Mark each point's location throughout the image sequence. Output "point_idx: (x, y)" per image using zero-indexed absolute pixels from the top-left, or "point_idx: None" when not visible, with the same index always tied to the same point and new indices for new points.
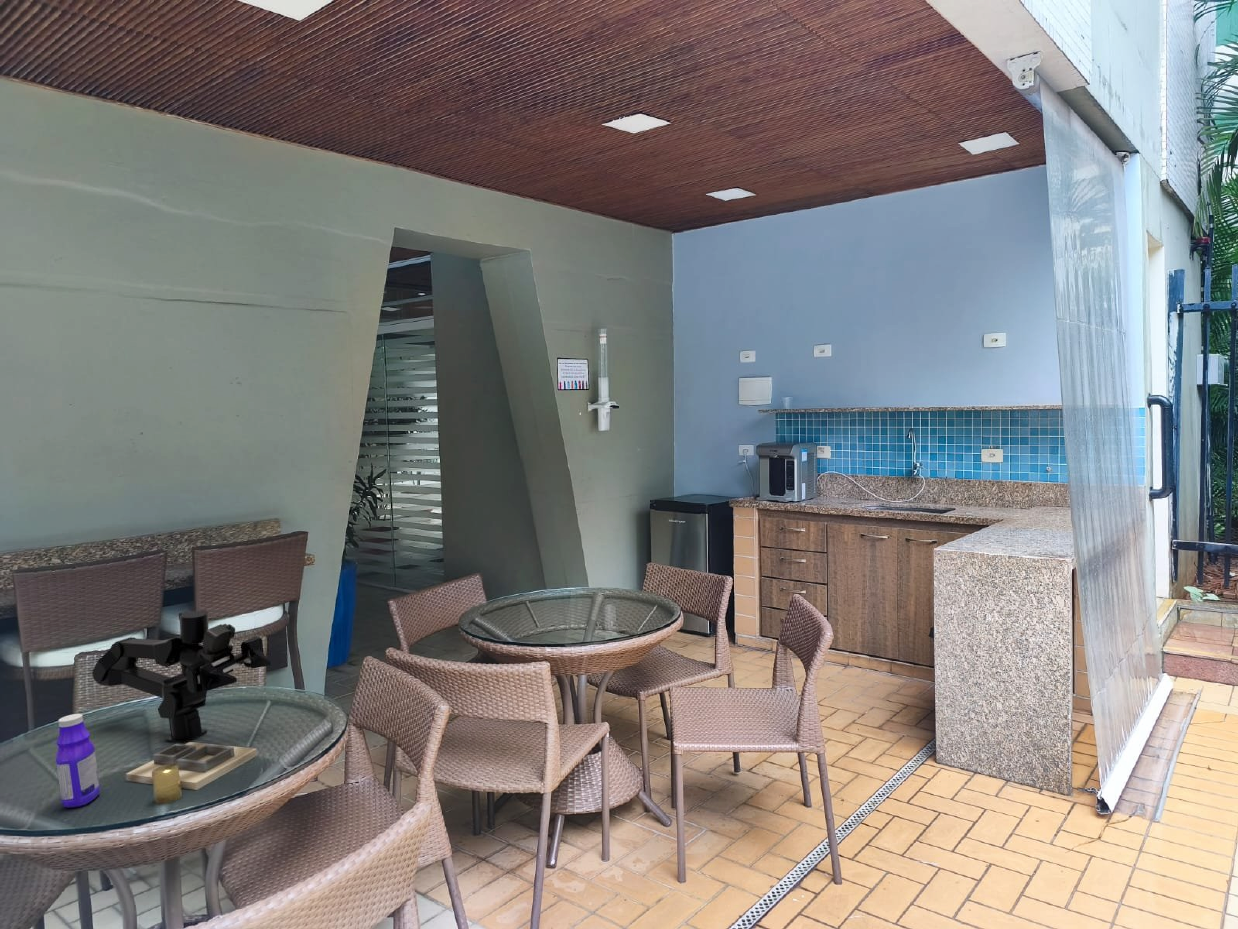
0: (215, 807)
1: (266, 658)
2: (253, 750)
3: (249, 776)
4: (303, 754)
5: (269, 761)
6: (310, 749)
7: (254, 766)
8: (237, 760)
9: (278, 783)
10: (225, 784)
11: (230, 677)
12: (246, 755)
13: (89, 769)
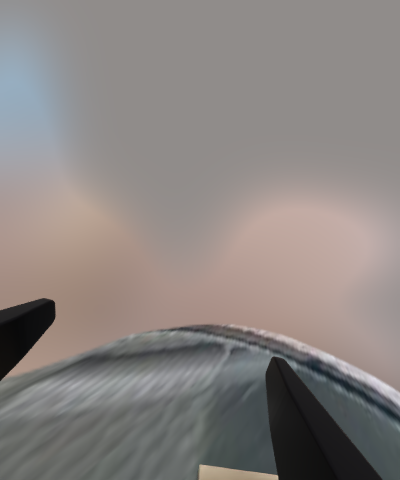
0: (360, 376)
1: (13, 309)
2: (210, 467)
3: None
4: (184, 353)
5: (218, 403)
6: (165, 353)
7: (244, 424)
8: (265, 474)
9: (267, 333)
10: None
11: (302, 383)
12: (235, 470)
13: None
